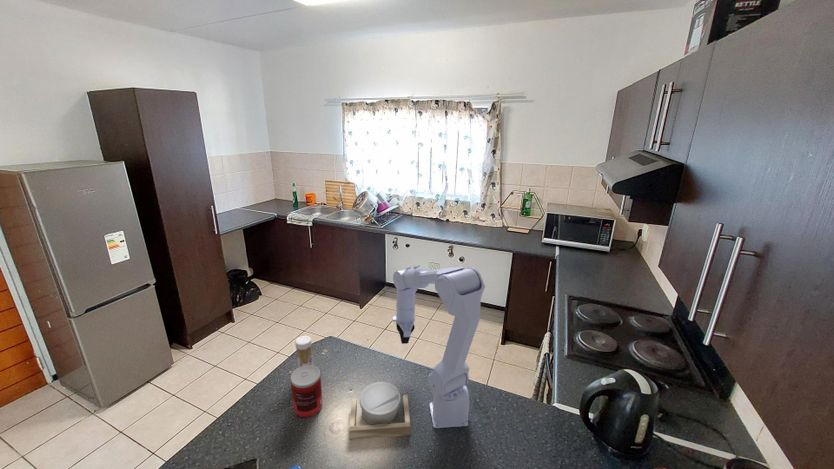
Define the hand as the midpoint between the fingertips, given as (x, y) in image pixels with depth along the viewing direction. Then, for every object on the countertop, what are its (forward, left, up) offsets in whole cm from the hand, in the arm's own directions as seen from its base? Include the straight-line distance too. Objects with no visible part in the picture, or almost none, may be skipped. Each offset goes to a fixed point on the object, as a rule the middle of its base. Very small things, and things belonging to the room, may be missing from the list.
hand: (404, 342), depth 103 cm
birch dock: (+8, +20, -9) cm, 23 cm away
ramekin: (+8, +17, -10) cm, 21 cm away
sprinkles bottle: (+31, +2, -10) cm, 33 cm away
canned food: (+28, +14, -10) cm, 33 cm away
